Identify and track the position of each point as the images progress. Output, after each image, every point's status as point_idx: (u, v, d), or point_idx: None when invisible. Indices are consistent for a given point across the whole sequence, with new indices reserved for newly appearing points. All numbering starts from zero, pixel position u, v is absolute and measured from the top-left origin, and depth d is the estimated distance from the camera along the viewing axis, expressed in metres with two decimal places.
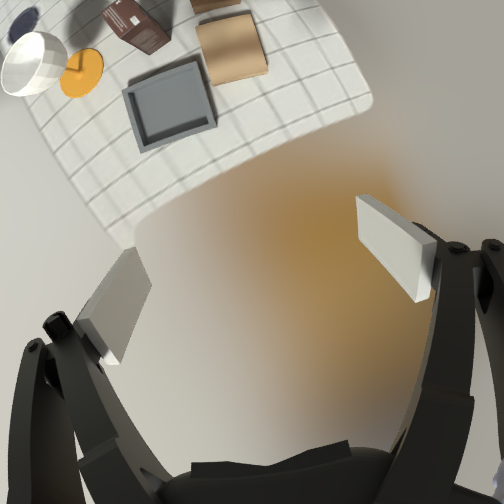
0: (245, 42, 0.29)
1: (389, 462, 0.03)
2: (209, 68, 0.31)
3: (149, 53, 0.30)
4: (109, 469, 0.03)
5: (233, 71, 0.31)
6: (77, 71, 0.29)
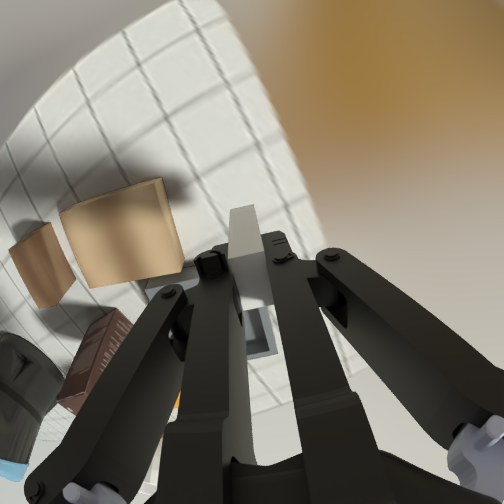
0: (106, 220, 0.21)
1: (306, 482, 0.03)
2: (154, 274, 0.23)
3: None
4: (197, 451, 0.04)
5: (158, 239, 0.22)
6: None
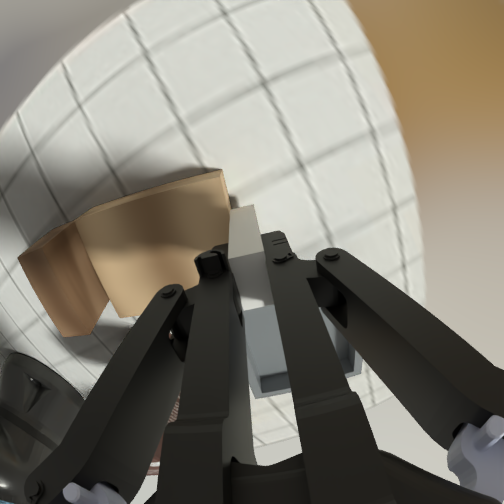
0: (146, 229, 0.16)
1: (306, 482, 0.03)
2: None
3: None
4: (197, 451, 0.04)
5: None
6: None
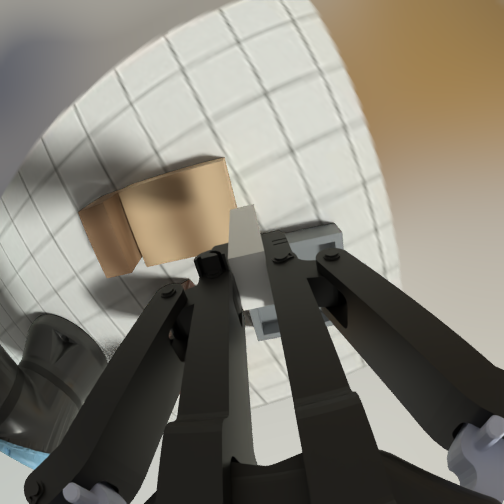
0: (171, 196, 0.23)
1: (306, 482, 0.03)
2: None
3: None
4: (197, 451, 0.04)
5: (224, 214, 0.24)
6: None
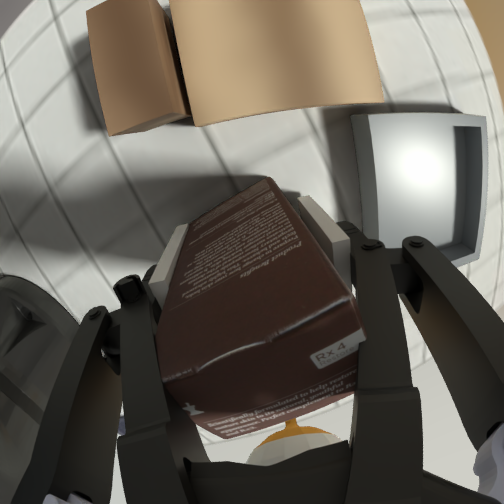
0: (270, 4, 0.09)
1: (347, 468, 0.03)
2: (343, 99, 0.12)
3: None
4: (150, 455, 0.04)
5: (357, 45, 0.10)
6: None
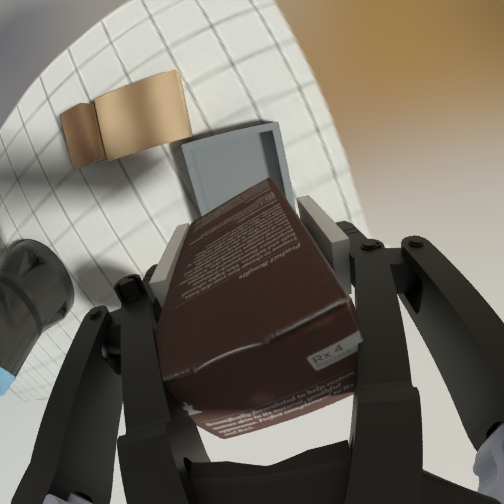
0: (134, 98, 0.24)
1: (346, 468, 0.03)
2: (166, 141, 0.27)
3: None
4: (150, 455, 0.04)
5: (174, 110, 0.25)
6: None
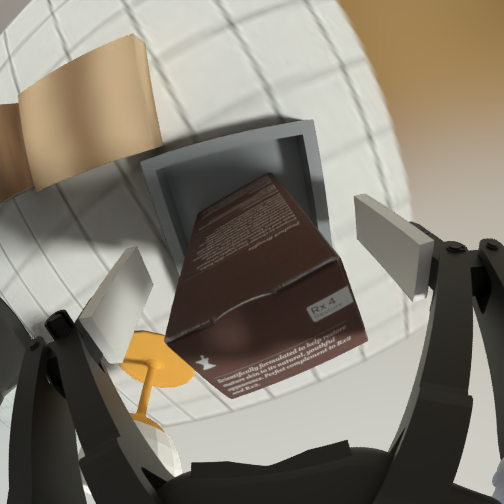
0: (67, 88, 0.12)
1: (388, 462, 0.03)
2: (115, 157, 0.15)
3: None
4: (110, 469, 0.03)
5: (127, 102, 0.13)
6: (150, 372, 0.24)
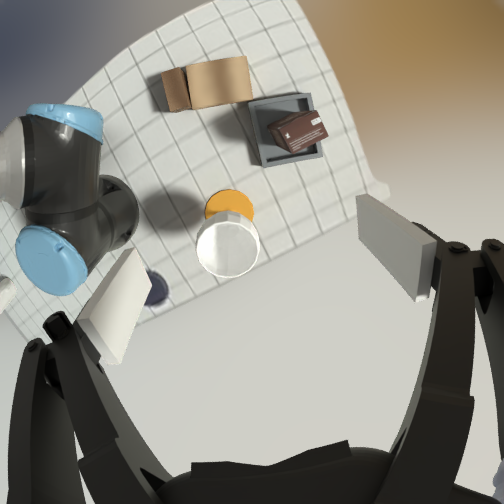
0: (216, 70, 0.37)
1: (389, 462, 0.03)
2: (237, 100, 0.39)
3: None
4: (109, 469, 0.03)
5: (244, 81, 0.38)
6: None
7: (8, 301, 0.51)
